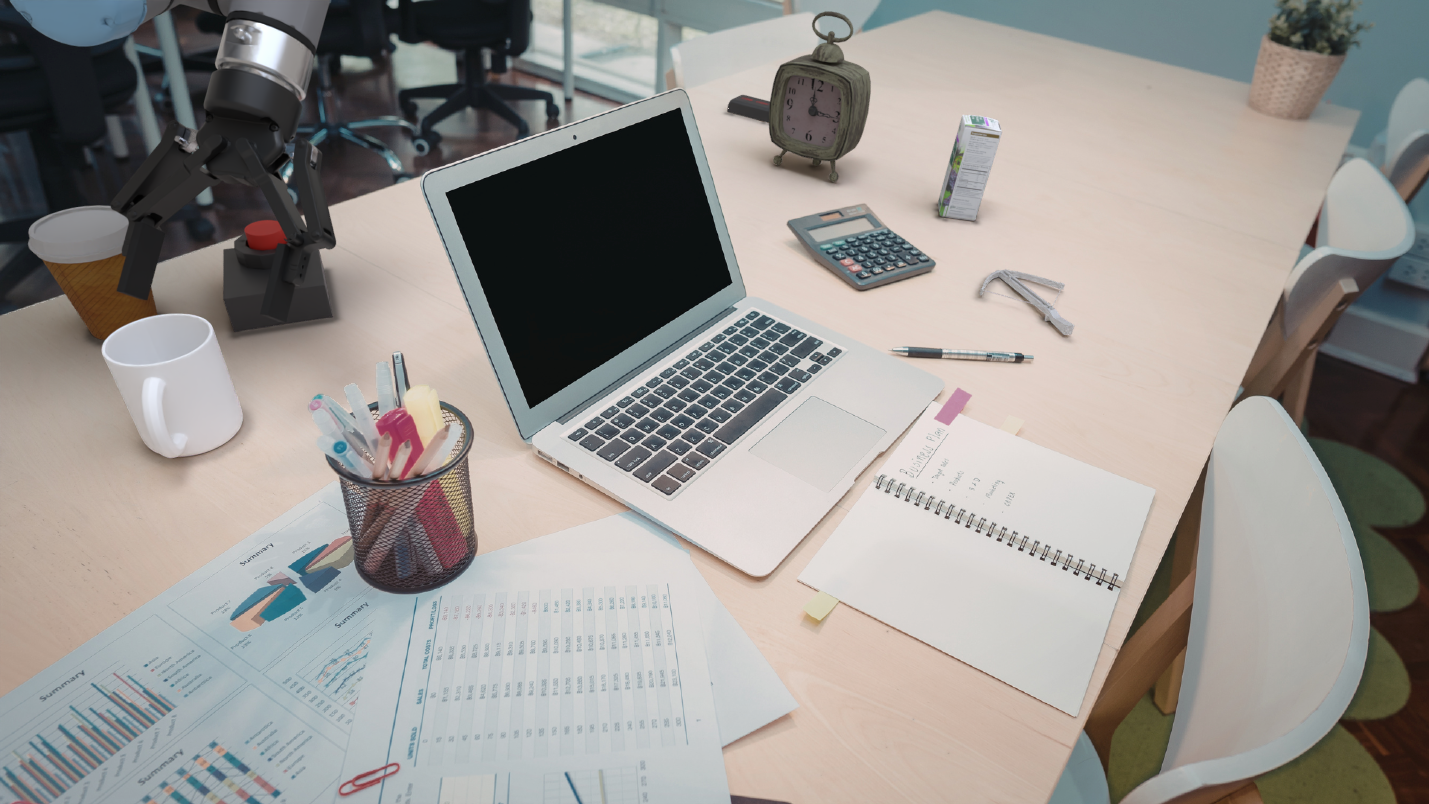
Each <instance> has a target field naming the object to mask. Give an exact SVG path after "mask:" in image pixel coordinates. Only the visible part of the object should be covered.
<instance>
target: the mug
mask: <svg viewBox="0 0 1429 804" xmlns="http://www.w3.org/2000/svg"><path fill="white" fill-rule="evenodd" d="M101 355H102V357H103V359H104V362H105V363H106V365H107V367H108V370H109V372H110V373H111V376H112V378H113V381H114V383H115V385H116V388H117V390H118V392H119V393H120V396H121V398H122V400H123V402H124V404H125V406H126V409H127V411H128V413H129V415H130V417H131V420H132V421H133V423H134V425H135V428H136V430H137V432H138V434H139V437H140V438H141V440H142V441H143V443H144V444H145V445H146V447H147V448H148V449H149V450H151V451H153V452H154V453H156V454H159V455H161V456H162V457H165V458H168V459H173V458H174V459H175V458H177V457H178V458H179V457H181V458H182V457H183V458H184V457H192V456H197V455H201V454H204V453H208V452H211V451H213V450H215V449H217V448H219V447H220V446H223V445H224V444H226V443H227V442H229V441H230V440H231V439H232V438H234V436H236V435H237V433H238V432H239V431H240V429H241V427H242V424H243V422H244V421H243V420H244V414H243V409H242V406H241V403H240V399H239V397H238V394H237V391H236V389H235V386H234V383H233V379H232V377H231V374H230V372H229V369H228V366H227V363H226V361H225V358H224V355H223V353H222V349H221V346H220V344H219V341H218V338H217V335H216V331H215V329H214V327H213V325H212V324H211V322H209V320H207V319H205V318H204V317H201V316H200V315H195V314H191V313H165V314H163V313H162V314H158V315H156V316H152V317H147V318H144V319H140V320H137V321H134V322H132V323H129V324H127V325H125V326H123V327H121V328H119V329H118V330H116V331H115V332H113V333H112V334H111V335H110V336H109V337H108V338H107V339H106V340H103V343H102V345H101Z"/></svg>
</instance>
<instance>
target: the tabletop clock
mask: <svg viewBox="0 0 1429 804" xmlns="http://www.w3.org/2000/svg"><path fill="white" fill-rule="evenodd" d="M823 17H833V18H837V19H839V20H842V21H844V22H845V23H846V24H847V26H848V28H849V34H848V35H846V36H845V37H836V33H835V31H833V30H831V31H828V34H827V35H825V34H823V33H822V32H820V31H819V30H818V29H817V28H816V22H817V20H819V19H820V18H823ZM811 27H812V32H813V33H814V34H815V35H816V36H817V37H818V38H820V39H821V40H823V41H825V42H822V43H820V44H818V45H817V46H816V47H815V48H814V49H813V51H812V53H811V54H810V53H809V54H805V55H801V56H798V57H796V58H794V59H791V60H788V61H787V62H784V63H781V64H780V65H779V67H778V69H777V71H776V72H775V76H774V79H773V82H772V87H771V93H770V98H769V101H770V106H769V122H768V133H769V138H770V142H771V143H772V144H774V145H775V146H776V147H778V148H779V149H781V150H782V151H781V153H780V154H779V155H775V156H773V159H772V163H773V165H775V166H780V165H781V164H782V163H783V158H784V156H785V155H786V154H787V153H788V152H789V153H791V154H794V155H796V156H799V157H802V158H807V159H811V160H812V164H813V166H815V167H820V166H821V165H822V162H829V163H830V170H831V172H830V173H829V175H828V180H829V181H830V182H832V183H836V182H837V181H838V180H839V178H840V175H839V173H838V172H837V171H836V162H837V161H838V160H840V159H841V158H843V157H844V156H846V155H847V154H849V153H850V152H851V151H853V150H855V149H856V147H857V146H858V145H859V143H860V142H861V139H862V136H863V134H864V131H865V127H866V123H867V120H868V116H869V110H870V104H871V103H870V101H871V92H872V89H871V88H872V86H871V85H872V81H871V76H870V75H871V74H870V71H868V70H867V69H865V68H864V67H863V66H861V65H859V64H858V63H854V62H852V61H848V60H845V54H844V52H843V50H842V48H841V46H839V44H838V43H845V42H847V41H848V40H850V39H851V38H852V37H853V35H854V26H853V23H852V21H851V20H850V18H848V17H847V16H846V15H845V14H842V13H840V12H836V11H826V10H825V11H822V12H819V13H818V14H816V15H815V16H814V18H813V20H812V22H811Z"/></svg>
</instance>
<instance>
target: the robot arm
mask: <svg viewBox="0 0 1429 804" xmlns="http://www.w3.org/2000/svg"><path fill="white" fill-rule="evenodd" d="M9 2H10V4H11V5H12V6H13V8H14V9H15V11H17V12H18V13H20V15H21V16H22V17H23V18H24V20H26V21H27V22H28V23H29V24H30V25H31V27H32V28H34V29H35V30H36V31H38V32H39V33H40V34H42V35H44V36H45V37H47V38H50V39H51V40H54V41H56V42H58V43H60V44H65V45H69V46H75V47H94V46H98V45H103V44H106V43H108V42H112V41H114V40H119V39H122V38H126V37H127V36H129V35H131V34H132V33H134V32H136V31H137V29H138V28H139V27H140V26H141V25H143V24H145V23H146V22H148V21H150V20H152V19H153V18H155V17H158V16H160V15H162V14H164V13H166V12H168V11H170V10H172V9H173V8H176V7H177V6H179V5H184V6H188V7H191V8H195V9H197V10H200V11H204V12H208V13H211V14H214V15H219V16H221V17H225V18H226V19H225V23H224V29H223V33H222V36H221V40H220V44H219V47H218V51H217V55H216V58H215V62H214V64H215V65H214V66H215V68H216V69H217V70H214V71H212V73H211V75H210V79H209V83H208V86H207V90H206V93H205V97H204V102H203V109H204V114H205V115H204V116H205V121H204V123H203V124H202V126H201V127H200V128H198V129H195V128H191V127H189V126H188V127H187V126H186V125H184V124H182V123H181V122H179V121H178V120H177V119H172V120H170V121H169V122H167V124H166V127H165V130H164V132H163V135H162V137H161V140H160V142H159V143H158V144H157V145H156V147H154V149H153V150H152V151H151V152H150V154H149V155H148V156H147V158H146V159H145V160H144V161H143V162H142V164H140V166H139V167H138V168H137V170H136V171H135V172H134V173H133V174H132V175H131V177H130V178H129V179H128V181H127V182H126V183H124V185H123V187H122V188H121V189H120V190H119V191H118V193H116V195H115V196H114V198H113V199H112V200H111V201H110V204H109V206H110V207H111V209H112V210H114V211H116V212H118V213H120V214H121V215H123V216H125V217H126V218H127V219H128V222H129V224H128V228H127V232H126V236H125V240H124V244H123V246H122V256H125V257H126V258H125V262H124V265H123V269H122V273H121V276H120V280H119V284H118V287H117V292H120V293H123V294H126V295H129V296H132V297H135V298H137V299H141V300H148V296H149V293H150V289H151V287H152V285H153V282H154V277H155V274H156V270H157V266H158V262H159V258H160V255H161V251H162V248H163V245H164V240H165V236H166V232H164V231H163V230H162V228H161V227H160V226H162V225H163V224H164V223H165V222H167V221H168V220H169V219H170V218H171V217H172V216H174V215H175V214H177V213H178V212H179V211H180V210H181V209H184V207H185V206H187V205H188V204H189V203H191V202H192V201H193V200H194V199H196V198H197V197H198V196H199V195H200V194H201V193H203V192H204V191H205V190H207V188H209V187H216V186H218V185H219V184H220V183H221V182H223V183H225V184H229V185H239V184H243V185H245V186H247V187H249V188H256V189H258V188H260V190H261V192H262V193H263V195H264V198H265V199H266V201H267V203H268V205H269V207H270V209H271V211H272V213H273V214H274V216H275V218H276V221H278V222H279V224H280V226H281V228H282V230H283V232H284V234H285V236H286V238H287V239H285V238H284V240H285V241H286V242H288V243H290V246H288V245H286V244H282V243H278V244H277V248H276V252H275V256H274V260H273V264H272V268H271V272H270V276H269V280H268V284H267V288H266V292H265V296H264V300H263V304H262V308H261V312H260V314H261V315H263V316H266V317H268V318H271V319H273V320H276V321H278V322H284V323H286V322H287V318H288V314H289V310H290V306H291V302H292V297H293V293H294V289H295V286H302V284H303V283H304V281H305V277H306V273H307V269H308V265H309V261H310V257H311V254H312V253H313V252H314V251H316V250H319V251H320V250H324V249H326V250H329V251H331V250H333V249H335V247H336V246H337V237H336V235H335V231H334V226H333V221H332V217H331V213H330V210H329V204H328V201H327V197H326V191H325V188H324V183H323V179H322V175H321V170H322V163H323V153H322V151H321V150H320V149H318V148H317V147H316V146H315V145H314V144H313V143H311V142H310V141H309V140H307V139H306V138H305V137H300V138H298V139H296V140H295V142H291V141H293V140H294V139H295V138H296V135H297V131H298V127H299V124H300V119H301V115H302V112H303V104H302V103H301V102H302V101H304V100H305V99H306V97H307V94H308V89H309V84H310V81H311V78H312V72H313V68H314V64H315V59H316V58H315V57H316V54H317V48H318V46H319V42H320V38H321V35H322V32H323V31H322V30H323V27H324V23H325V19H326V16H327V13H328V9H329V6H330V4H331V3H332V0H9ZM288 162H290V163H291V164H292V167H293V168H292V169H293V173H294V178H295V181H296V186H297V190H298V195H299V198H300V200H299V201H300V203H301V208H302V213H303V217H304V219H303V217H302V215H301V214H300V212H299V210H298V207H297V205H296V204H295V202H294V200H293V199H292V196H291V194H290V192H289V191H288V189H289V187H288V185H287V183H286V181H285V179H284V177H283V176H282V174H281V172H280V169H281V168H283V167H284V166H285V165H286V164H287V163H288ZM203 166H205V167H206V168H205V167H203Z"/></svg>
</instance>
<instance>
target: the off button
mask: <svg viewBox="0 0 1429 804" xmlns="http://www.w3.org/2000/svg"><path fill="white" fill-rule="evenodd" d="M244 234H246V237H247V241H248V244H249V247H250V248H251V249H254V250H270V249H276V248H277V244H278V243H282V244H286V243H288V242H286V241H285V240H284V238H285V239H287V238H286V236H285V234H284V232H283V230H282V228H281V226H280V224H279V222H278V220H273V219H264V220H257V221H254V222H251V223H249V224H248V225H246V226H245V227H244Z"/></svg>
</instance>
